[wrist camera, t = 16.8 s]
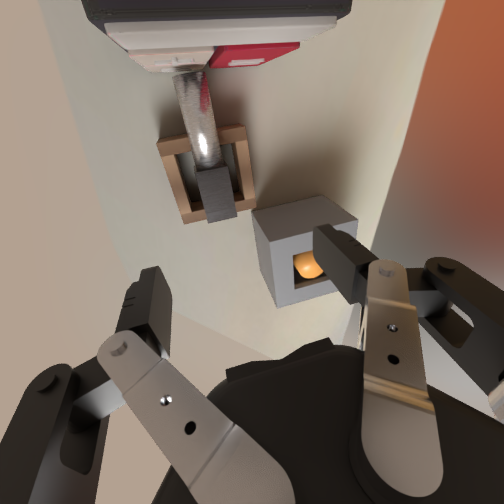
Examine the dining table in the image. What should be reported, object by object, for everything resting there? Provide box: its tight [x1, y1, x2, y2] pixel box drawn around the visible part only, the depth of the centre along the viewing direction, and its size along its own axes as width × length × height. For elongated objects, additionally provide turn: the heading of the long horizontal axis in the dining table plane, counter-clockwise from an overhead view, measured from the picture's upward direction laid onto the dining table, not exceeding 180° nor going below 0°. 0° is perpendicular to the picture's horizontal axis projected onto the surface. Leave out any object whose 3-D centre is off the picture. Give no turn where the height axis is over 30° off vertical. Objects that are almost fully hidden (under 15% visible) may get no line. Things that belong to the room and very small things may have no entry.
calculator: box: [81, 0, 352, 72], centre depth 15 cm, size 11×4×15 cm, turn 94°
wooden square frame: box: [156, 124, 257, 224], centre depth 26 cm, size 8×8×3 cm
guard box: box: [251, 195, 358, 309], centre depth 31 cm, size 10×10×8 cm
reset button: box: [293, 250, 323, 278], centre depth 30 cm, size 4×4×5 cm
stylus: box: [172, 72, 237, 223], centre depth 22 cm, size 3×3×12 cm
